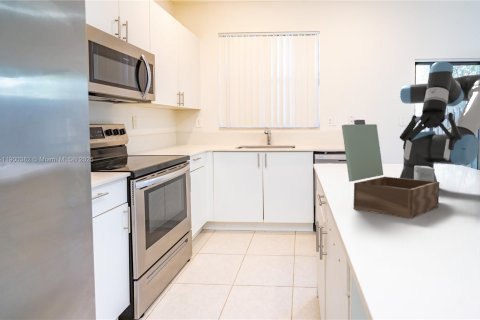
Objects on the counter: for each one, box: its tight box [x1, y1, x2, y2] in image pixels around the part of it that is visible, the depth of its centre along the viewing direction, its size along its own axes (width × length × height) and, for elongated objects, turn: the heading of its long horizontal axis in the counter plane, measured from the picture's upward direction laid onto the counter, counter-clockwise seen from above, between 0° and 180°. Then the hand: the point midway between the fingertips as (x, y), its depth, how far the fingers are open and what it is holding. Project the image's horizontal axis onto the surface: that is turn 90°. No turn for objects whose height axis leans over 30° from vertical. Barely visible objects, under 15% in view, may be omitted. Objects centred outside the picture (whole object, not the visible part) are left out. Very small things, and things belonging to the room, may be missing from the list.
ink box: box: [414, 166, 435, 181], centre depth 138 cm, size 9×5×12 cm, turn 168°
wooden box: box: [353, 176, 440, 219], centre depth 126 cm, size 21×18×8 cm
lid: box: [341, 119, 384, 182], centre depth 133 cm, size 21×20×1 cm
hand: (425, 158), depth 137 cm, fingers open, 13 cm apart
